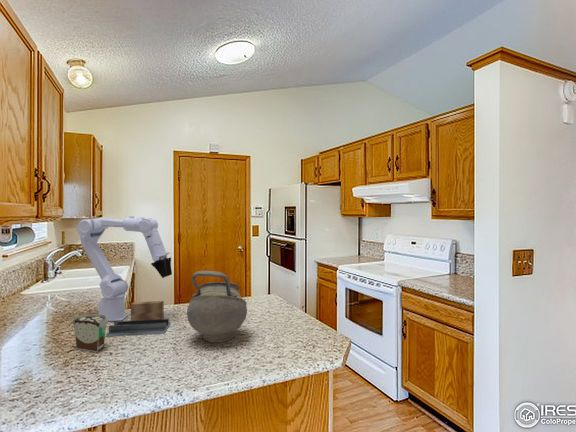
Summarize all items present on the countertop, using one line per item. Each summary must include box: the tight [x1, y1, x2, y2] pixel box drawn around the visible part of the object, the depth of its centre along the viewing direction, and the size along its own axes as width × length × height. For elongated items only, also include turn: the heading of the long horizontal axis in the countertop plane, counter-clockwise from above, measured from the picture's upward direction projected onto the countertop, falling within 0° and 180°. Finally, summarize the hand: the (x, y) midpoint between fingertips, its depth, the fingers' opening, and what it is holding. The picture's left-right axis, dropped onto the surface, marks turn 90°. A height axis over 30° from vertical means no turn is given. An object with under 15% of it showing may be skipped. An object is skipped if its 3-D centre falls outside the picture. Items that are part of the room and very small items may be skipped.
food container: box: [72, 313, 109, 353], centre depth 109 cm, size 12×6×10 cm, turn 71°
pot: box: [186, 270, 248, 343], centre depth 115 cm, size 21×21×25 cm
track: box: [105, 318, 171, 338], centre depth 124 cm, size 20×10×3 cm, turn 98°
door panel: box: [130, 300, 165, 321], centre depth 134 cm, size 12×3×8 cm, turn 98°
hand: (167, 276), depth 136 cm, fingers open, 7 cm apart
